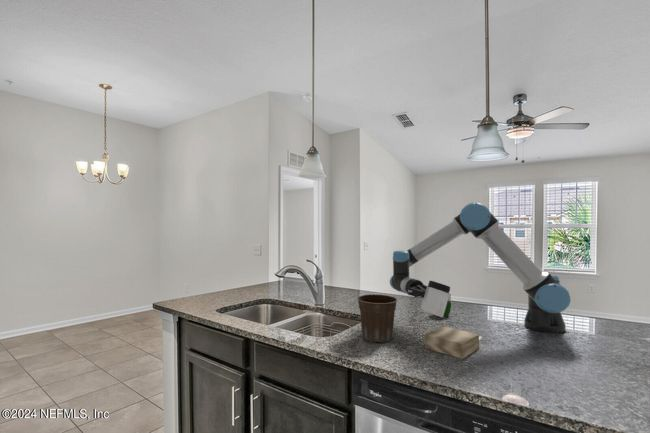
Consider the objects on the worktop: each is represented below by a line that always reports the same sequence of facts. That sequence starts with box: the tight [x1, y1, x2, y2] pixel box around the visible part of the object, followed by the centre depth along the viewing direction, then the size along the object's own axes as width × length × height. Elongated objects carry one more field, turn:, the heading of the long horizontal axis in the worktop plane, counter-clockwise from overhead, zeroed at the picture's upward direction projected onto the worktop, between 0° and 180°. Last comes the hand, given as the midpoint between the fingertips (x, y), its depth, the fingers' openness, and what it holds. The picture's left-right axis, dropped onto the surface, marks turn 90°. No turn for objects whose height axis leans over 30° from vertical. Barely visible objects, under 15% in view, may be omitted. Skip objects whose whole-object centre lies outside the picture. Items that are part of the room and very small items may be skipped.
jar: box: [420, 280, 451, 318], centre depth 128 cm, size 9×8×12 cm
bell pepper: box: [443, 301, 452, 317], centre depth 166 cm, size 8×8×10 cm
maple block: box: [424, 325, 480, 360], centre depth 122 cm, size 14×14×5 cm
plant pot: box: [356, 293, 398, 344], centre depth 133 cm, size 16×16×16 cm
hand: (445, 297), depth 126 cm, fingers open, 3 cm apart
